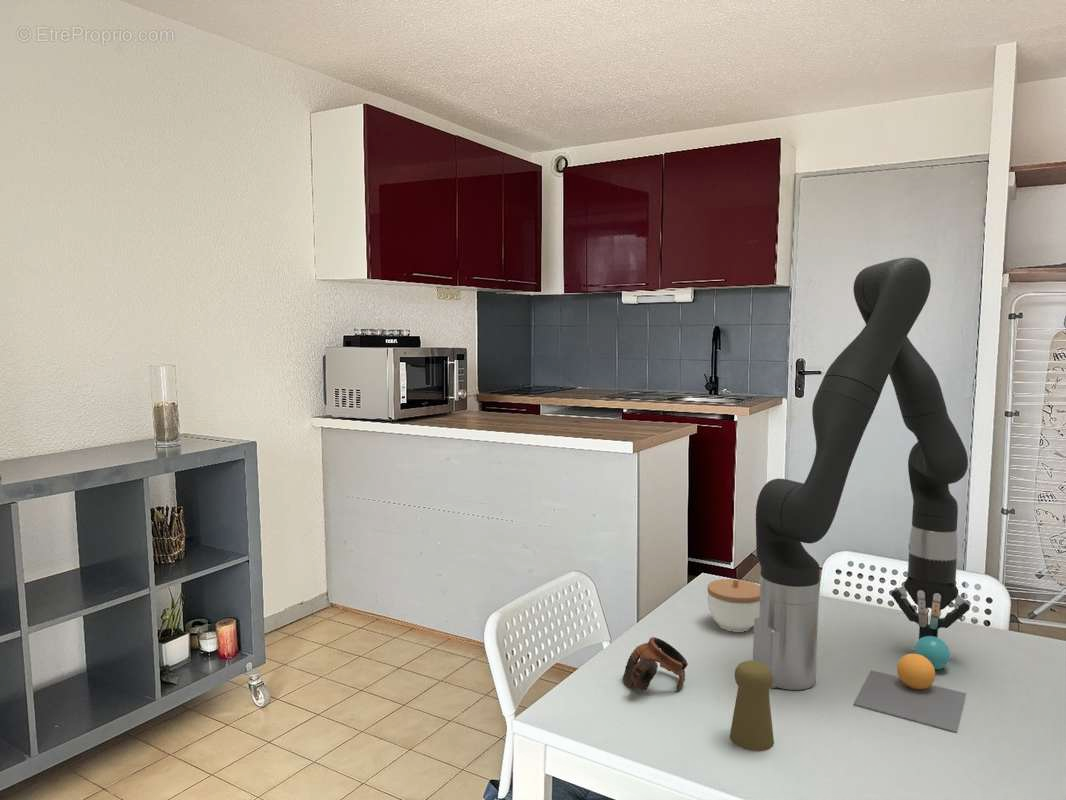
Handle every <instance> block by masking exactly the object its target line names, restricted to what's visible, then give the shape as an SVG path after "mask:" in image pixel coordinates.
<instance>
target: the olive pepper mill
mask: <svg viewBox="0 0 1066 800" xmlns="http://www.w3.org/2000/svg"><path fill="white" fill-rule="evenodd" d="M734 680H735V684H736V685H737V691H736V697H735V702H734V703H735V704H734V708H733V714H732V715H733V716H732V721H731V727H730V730H729V731H730V733H729V739H730V741H731V742H732V744H734V745H736V747H739V748H741V749H743V750H748V751H750V752H751V751H752V752H765V751H769V750H771V749H772V748H773V747H774V745H775V739H774V731H773V728H774V727H773V721H772V720H773V719H772V711H771V701H770V700H771V699H770V693H769V691H770V690H771V689H772V688H771V686H772V683H773V675H772V671H771V670H770V668H769V667H768V666H766V665H765V664H763V663H760V662H757V661H753V660H746V661H742V662H739V663H738V664H737V666H736V668H735V669H734ZM771 747H772V748H771Z"/></svg>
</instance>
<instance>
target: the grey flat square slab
mask: <svg viewBox="0 0 1066 800" xmlns="http://www.w3.org/2000/svg"><path fill="white" fill-rule="evenodd" d="M965 695H967V692H962V691H959V690H954V689H950V688H946V687H942V686H937V685H934V684H931V685H930V686H929V687H928V688H925V689H920V690H918V689H913V688H910V687H908V686H907V685H905V684H904V683H903V682H902V681H901V679H900V678H899V676H898V675H893V674H889V673H885V672H884V673H883V672H880V671H875V670H870V672H869V674H868V676H867V677H866V679H865V682H864V683H863V685H862V686H861V689H860V690H859V692H858V694H857V696H856V698H855V699H854V702H853V706H855V707H859V708H863V709H866V710H871V711H875V712H878V713H881V714H886V715H887V716H888V715H889V716H893V717H896V718H899V719H903V720H907V721H911V722H915V723H919V724H922V725H926V726H930V727H933V728H937V729H941V730H944V731H948V732H951V733H955V734H957V733H958V729H959V725H960V720H961V716H962V712H963V708H964V704H965V699H966V696H965Z"/></svg>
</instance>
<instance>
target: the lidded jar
mask: <svg viewBox="0 0 1066 800" xmlns="http://www.w3.org/2000/svg"><path fill="white" fill-rule="evenodd" d="M707 602H708V603H707V605H708V609H709V612H710V614H711V616H712V618H713V620H714V621H715V622H716V623H717V624H718V627H720V628H721V629H722V630H724V629H725V631H727V632H731V631H733V632H732V633H745V632H744V631H746V632H748V630H749V629H750V628H752V627H754V619H755V618H758V617H759V609H760V585H759V584H756V583H754V582H752V581H748V580H742V579H737V578H723V579H717V580H713V581H710V582H709V583H708V584H707ZM750 630H751V629H750ZM750 630H749V631H750Z"/></svg>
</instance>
